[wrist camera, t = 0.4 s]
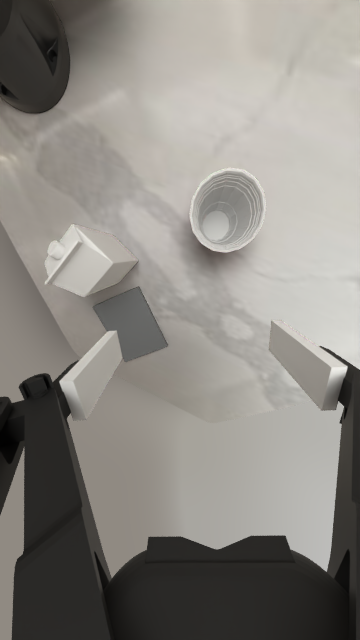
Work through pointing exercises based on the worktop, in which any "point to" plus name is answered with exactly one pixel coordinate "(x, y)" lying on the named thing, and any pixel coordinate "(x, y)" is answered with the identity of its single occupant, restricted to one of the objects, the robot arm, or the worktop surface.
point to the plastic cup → (227, 210)
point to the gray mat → (131, 324)
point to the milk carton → (87, 261)
